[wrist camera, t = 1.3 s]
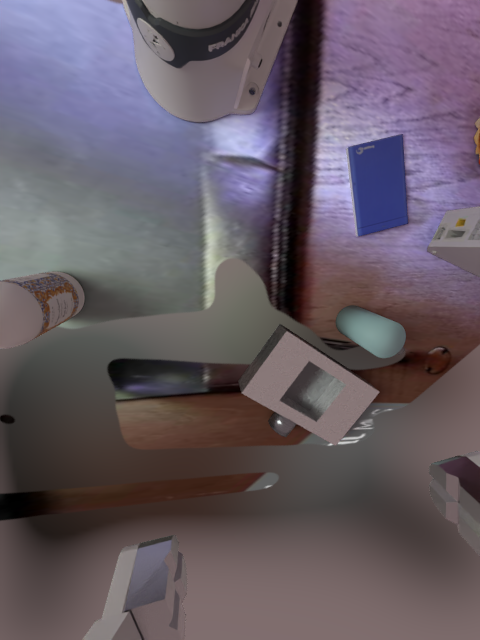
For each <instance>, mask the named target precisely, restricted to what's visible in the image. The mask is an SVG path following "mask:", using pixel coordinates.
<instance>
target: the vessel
mask: <svg viewBox="0 0 480 640" xmlns="http://www.w3.org/2000/svg"><path fill="white" fill-rule="evenodd" d="M475 125H476V127H477V128H478V131H477V132H476V134H475V136H474V140H475V143H476V145H477V147H476V154H479V164H480V118H479V119H478V120H477V121H476V122H475Z"/></svg>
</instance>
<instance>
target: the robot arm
mask: <svg viewBox="0 0 480 640" xmlns="http://www.w3.org/2000/svg"><path fill="white" fill-rule="evenodd" d="M297 2H298V0H123V5H124V9H125V12H126V15H127V18H128V20H129V23H130V25H131V27H132V32H133V39H134V51H135V58H136V63H137V67H138V71H139V74H140V76H141V79H142V81H143V83H144V85H145V87H146V88H147V90H148V91H149V93H150V94H151V96H152V97H153V98H154V99H155V101H156V102H157V103H158V104H159V105H160V106H161V107H163V108H164V109H165V110H166V111H168V112H169V113H171V114H172V115H174V116H176V117H178V118H181V119H184V120H187V121H192V122H207V121H212V120H215V119H218V118H220V117H223V116H225V115H228V114H240V115H247V114H251V113H253V112H254V111H255V110H256V108H257V106H258V103H259V100H260V98H261V95H262V93H263V90H264V88H265V85H266V82H267V80H268V77H269V75H270V72H271V70H272V67H273V64H274V62H275V59H276V57H277V54H278V51H279V49H280V46H281V44H282V41H283V39H284V36H285V33H286V31H287V28H288V26H289V23H290V21H291V18H292V15H293V13H294V10H295V8H296V5H297ZM250 90H253V91H254V92H255V94H254V95H251V94H250V93H249V91H250ZM429 474H430V475H431V476H432V477H433V478H434V479H433V480H432V482H431V483H430V485H429V486H430V494H431V497H432V499H433V502H434V504H435V505H436V507H437V508H438V510H439V511H440V512H441V513H442V515H443V516H444V517H445V518H446V519H447V520H449V521H451V522H453V523H455V524H457V525H458V530H459V534H460V535H461V536H462V537H463V538H464V539H465V541H466V542H467V543H468V544H469V545H470V546H471V547H472V548H473V549H474V551H475V552H476V553H477V554H478V555H479V556H480V452H478V451H475V452H471V453H468V454H464V455H461V456H455V457H452V458H449V459H445V460H442V461H439V462H435V463H432V464H431V465H430V467H429ZM178 546H179V542H178V540H177V537H176V535H172V536H168V537H164V538H159V539H155V540H151V541H147V542H143V543H139V544H135V545H132V546H128V547H124V548H123V549H122V551H121V553H120V555H119V558H118V562H117V565H116V569H115V573H114V576H113V580H112V584H111V587H110V591H109V594H108V598H107V602H106V605H105V609H104V612H103V616H102V619H100V620H97V621H95V623H94V624H93V626H92V627H91V629H90V630H89V631H88V633H87V634H86V635H85V637H84V638H83V640H184V636H185V617H186V614H185V611H184V608H183V605H182V602H183V600H184V598H185V596H186V594H187V573H186V564H185V560H184V557H183V554H182V553H180V552H179V551H178Z"/></svg>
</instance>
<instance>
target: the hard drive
mask: <svg viewBox="0 0 480 640" xmlns="http://www.w3.org/2000/svg"><path fill="white" fill-rule="evenodd" d="M346 154H347V162H348V171H349V180H350V188H351V197H352V205H353V214H354V222H355V231H356V236H362V235H366V234H370V233H374V232H378V231H381V230H385V229H389V228H393V227H397V226H401V225H404V224H408V216H407V199H406V182H405V165H404V149H403V134H400V135H396V136H392V137H388V138H384V139H379V140H375V141H371V142H367V143H363V144H359V145H354V146H350V147H348V148H346Z"/></svg>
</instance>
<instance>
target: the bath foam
mask: <svg viewBox="0 0 480 640" xmlns="http://www.w3.org/2000/svg"><path fill="white" fill-rule="evenodd" d="M84 300H85V296H84V291H83V289H82V287H81V285H80V284H79V282H78V281H77V280H76V279H75V278H73V277H72V276H70V275H68V274H66V273H62V272H56V271H52V272H45V273H39V274H34V275H29V276H23V277H18V278H12V279H7V280H2V281H0V349H4V348H12V347H16V346H19V345H22V344H25V343H28V342H29V341H31V340H33V339H35V338H36V337H38V336H40V335H42V334H44V333H45V332H47V331H49V330H51V329H52V328H54V327H56V326H58V325H60V324H61V323H63V322H65V321H67V320H68V319H70V318H72V317H73V316H75V315H76V314H78V313H79V312H80V310H81V309H82V307H83V305H84Z"/></svg>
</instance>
